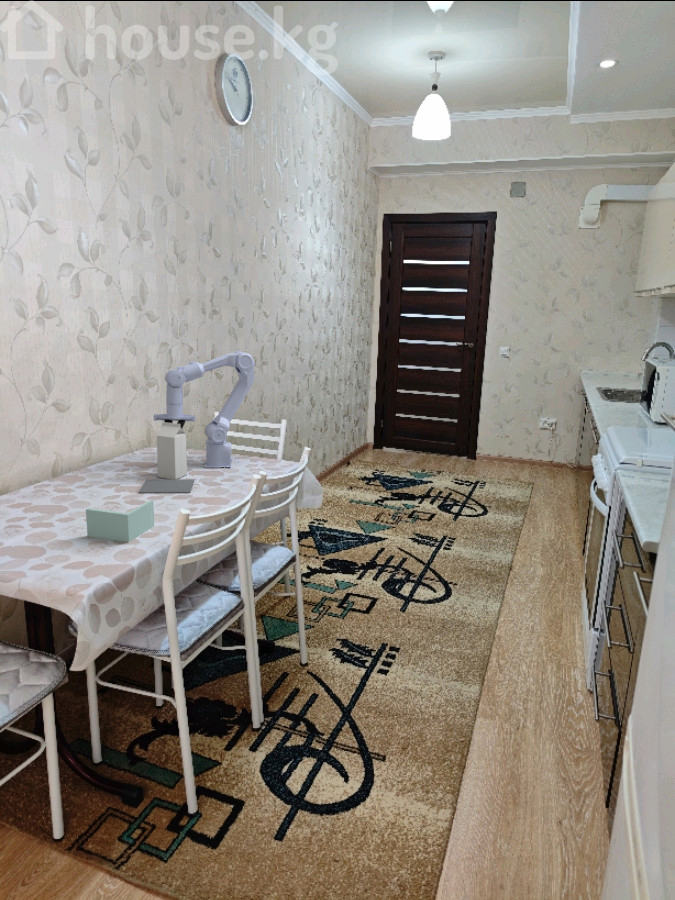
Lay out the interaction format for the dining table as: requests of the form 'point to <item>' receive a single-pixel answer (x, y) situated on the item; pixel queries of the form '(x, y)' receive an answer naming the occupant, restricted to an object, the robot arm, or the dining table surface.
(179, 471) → the milk carton
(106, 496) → the dining table surface
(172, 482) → the mat
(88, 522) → the l-shaped corner panel
